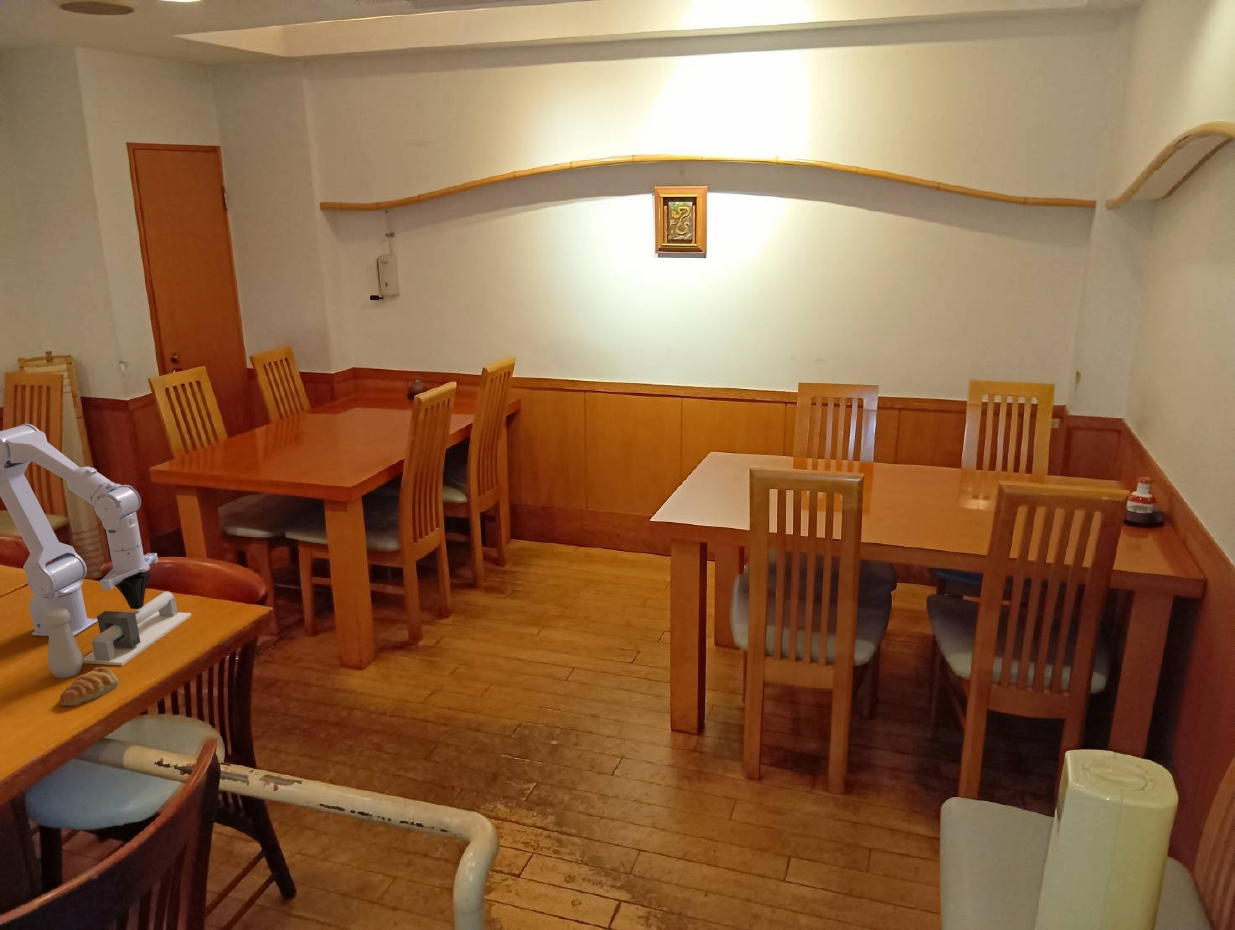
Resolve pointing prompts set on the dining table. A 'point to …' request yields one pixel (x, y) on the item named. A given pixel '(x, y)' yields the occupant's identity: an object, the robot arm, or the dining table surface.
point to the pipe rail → (151, 627)
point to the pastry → (89, 687)
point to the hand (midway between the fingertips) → (136, 607)
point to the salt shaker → (62, 645)
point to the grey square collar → (128, 625)
